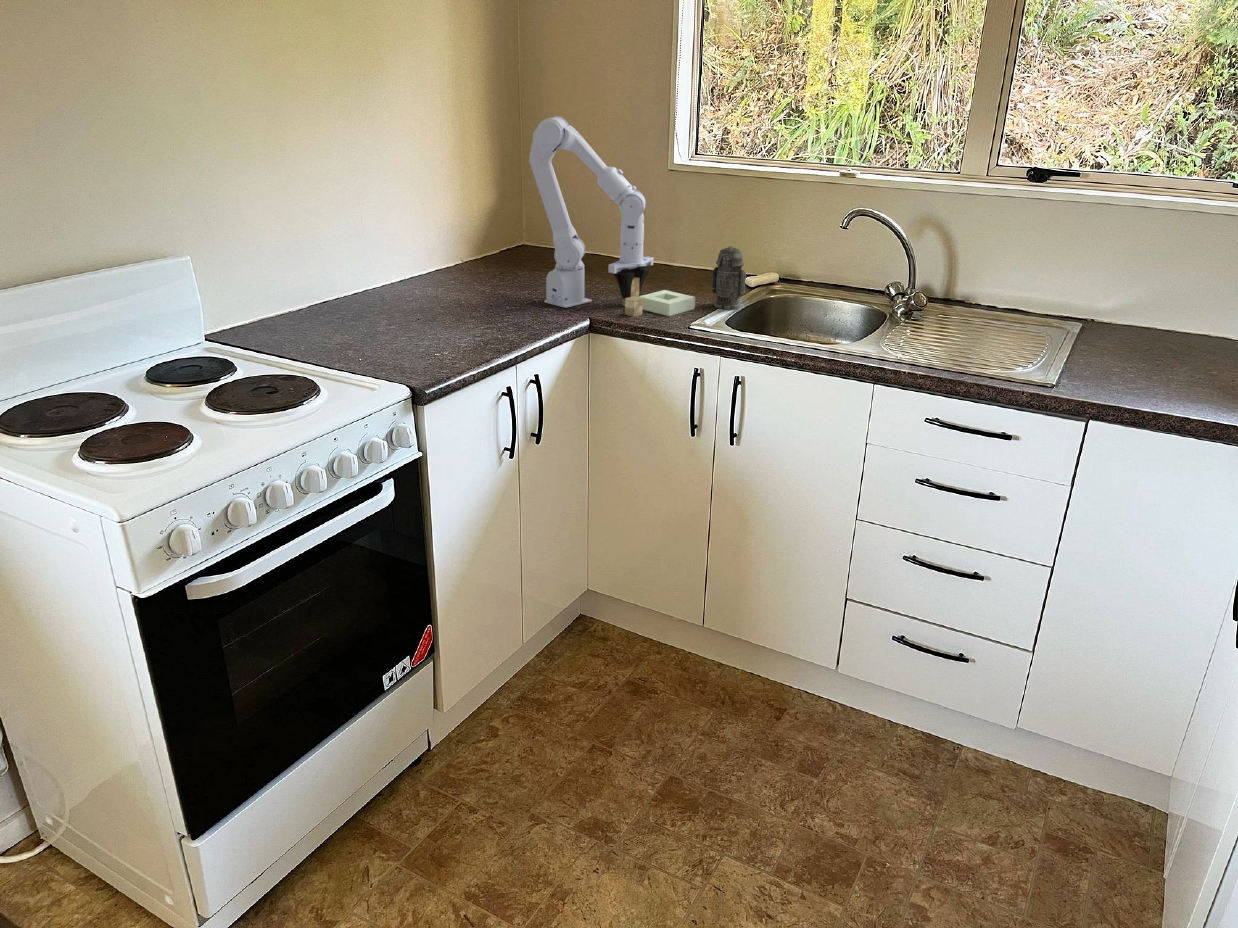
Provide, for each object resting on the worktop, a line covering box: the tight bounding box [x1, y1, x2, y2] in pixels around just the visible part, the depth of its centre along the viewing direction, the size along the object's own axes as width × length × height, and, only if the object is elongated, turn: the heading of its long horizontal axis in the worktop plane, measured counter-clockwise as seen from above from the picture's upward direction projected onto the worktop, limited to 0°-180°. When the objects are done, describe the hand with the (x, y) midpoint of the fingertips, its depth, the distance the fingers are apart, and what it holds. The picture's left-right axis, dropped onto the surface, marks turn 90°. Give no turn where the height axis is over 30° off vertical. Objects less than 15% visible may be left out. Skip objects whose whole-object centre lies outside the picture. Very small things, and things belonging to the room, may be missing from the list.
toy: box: [711, 245, 747, 310], centre depth 230 cm, size 8×6×15 cm
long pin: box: [621, 277, 640, 307], centre depth 231 cm, size 3×3×7 cm
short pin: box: [624, 296, 643, 318], centre depth 224 cm, size 3×3×4 cm
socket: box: [638, 289, 696, 317], centre depth 230 cm, size 10×10×3 cm
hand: (630, 297), depth 232 cm, fingers open, 3 cm apart
